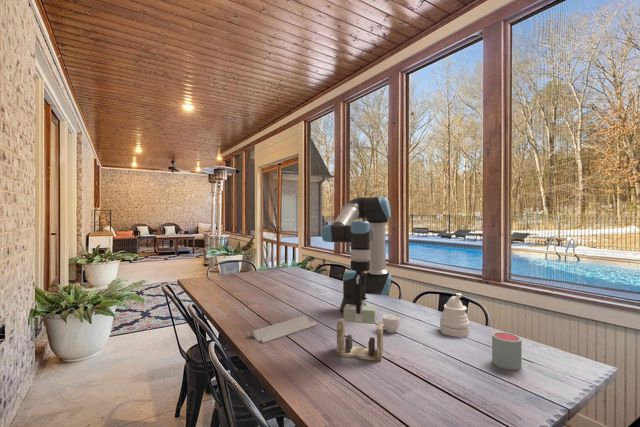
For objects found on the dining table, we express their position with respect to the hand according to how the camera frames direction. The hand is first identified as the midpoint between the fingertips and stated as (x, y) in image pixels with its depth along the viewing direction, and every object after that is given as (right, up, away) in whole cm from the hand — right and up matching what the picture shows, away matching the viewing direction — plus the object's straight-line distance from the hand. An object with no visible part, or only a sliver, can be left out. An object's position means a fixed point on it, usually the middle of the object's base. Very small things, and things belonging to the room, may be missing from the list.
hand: (360, 318), depth 123 cm
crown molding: (-33, -15, +25) cm, 44 cm away
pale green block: (0, -1, 0) cm, 1 cm away
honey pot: (+48, -14, +24) cm, 55 cm away
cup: (+18, -14, +25) cm, 34 cm away
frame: (0, -14, 0) cm, 14 cm away
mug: (+54, -14, -6) cm, 56 cm away
